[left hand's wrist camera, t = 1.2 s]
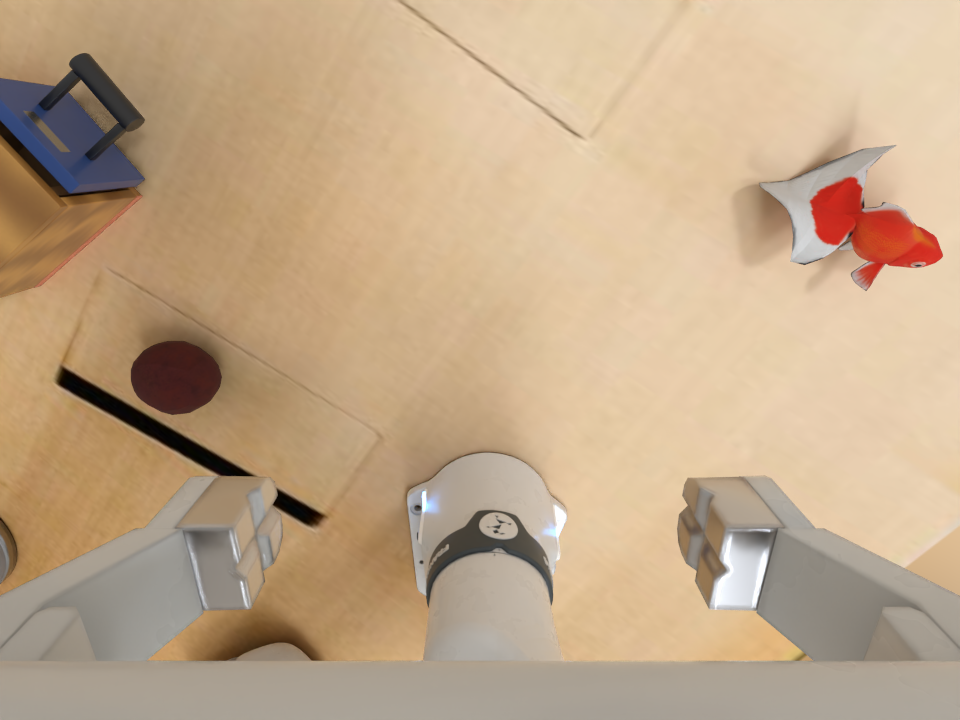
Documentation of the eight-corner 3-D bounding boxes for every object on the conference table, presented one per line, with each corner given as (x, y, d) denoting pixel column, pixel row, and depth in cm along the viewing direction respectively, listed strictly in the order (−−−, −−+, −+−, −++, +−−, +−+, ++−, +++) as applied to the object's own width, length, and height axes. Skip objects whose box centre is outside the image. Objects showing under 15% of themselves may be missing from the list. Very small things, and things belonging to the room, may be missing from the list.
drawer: (109, 42, 44) (28, 19, 36) (190, 139, 47) (131, 137, 39) (-34, 183, 48) (-135, 190, 40) (48, 264, 51) (-32, 286, 43)
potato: (154, 327, 54) (109, 351, 47) (231, 336, 54) (197, 361, 48) (161, 392, 57) (119, 423, 50) (234, 400, 57) (202, 432, 50)
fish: (846, 339, 50) (923, 311, 40) (712, 235, 53) (753, 186, 43) (920, 257, 50) (1013, 210, 40) (783, 159, 53) (839, 93, 43)
